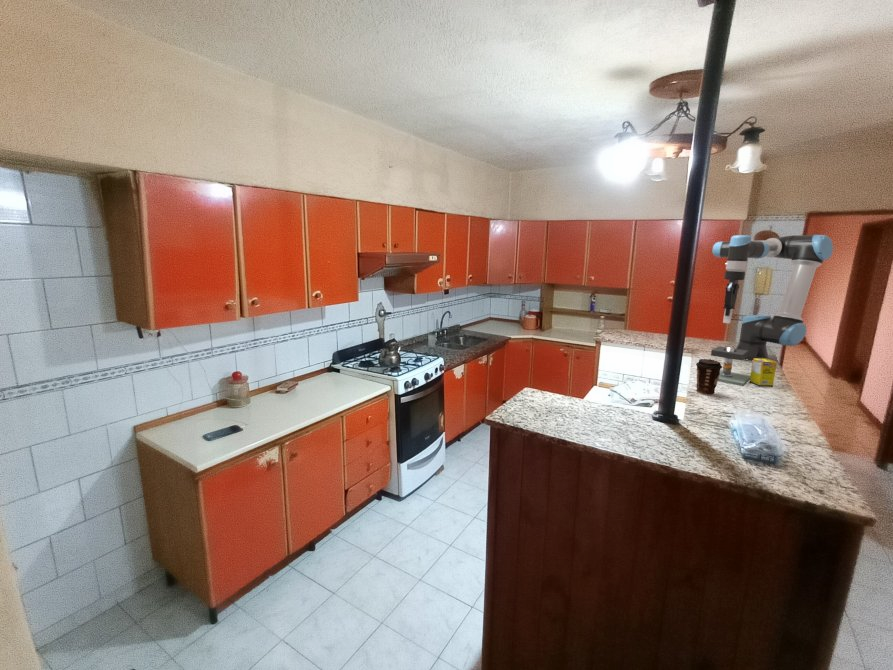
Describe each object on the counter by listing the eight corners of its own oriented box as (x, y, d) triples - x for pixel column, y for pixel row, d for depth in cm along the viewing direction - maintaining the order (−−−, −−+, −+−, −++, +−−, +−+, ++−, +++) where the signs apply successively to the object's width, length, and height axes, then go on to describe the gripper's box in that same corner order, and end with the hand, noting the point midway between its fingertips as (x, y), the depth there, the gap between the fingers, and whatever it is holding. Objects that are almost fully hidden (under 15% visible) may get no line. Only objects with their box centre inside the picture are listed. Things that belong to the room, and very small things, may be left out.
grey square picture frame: (717, 351, 193) (718, 346, 193) (747, 356, 185) (748, 350, 185) (710, 355, 185) (711, 350, 185) (741, 360, 177) (742, 354, 177)
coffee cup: (711, 389, 171) (716, 358, 169) (722, 396, 163) (727, 364, 161) (689, 388, 172) (693, 357, 169) (699, 395, 164) (703, 363, 161)
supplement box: (773, 387, 175) (777, 362, 173) (758, 387, 175) (762, 361, 173) (762, 382, 181) (767, 358, 179) (748, 382, 181) (752, 358, 179)
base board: (710, 370, 198) (710, 368, 198) (751, 378, 187) (751, 375, 187) (700, 377, 187) (700, 375, 187) (743, 386, 176) (743, 383, 176)
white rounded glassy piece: (721, 373, 190) (725, 345, 187) (733, 375, 187) (737, 347, 184) (719, 375, 187) (723, 347, 184) (730, 377, 184) (735, 349, 181)
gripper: (729, 270, 195) (721, 320, 199) (721, 270, 186) (713, 322, 190) (748, 271, 189) (739, 322, 194) (741, 271, 181) (732, 325, 185)
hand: (726, 322), depth 192 cm, fingers closed
